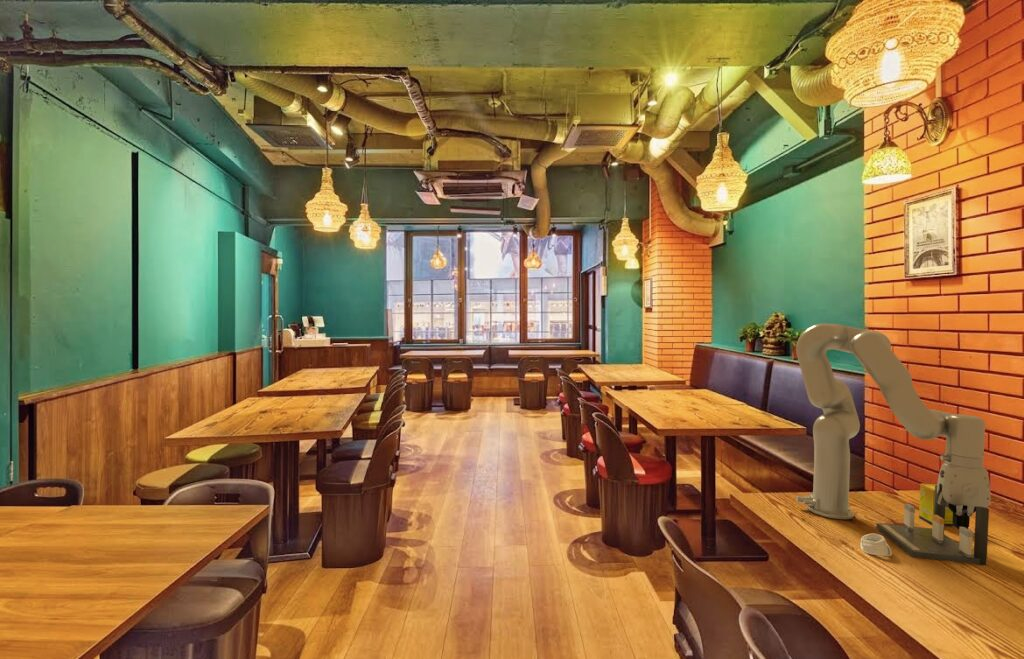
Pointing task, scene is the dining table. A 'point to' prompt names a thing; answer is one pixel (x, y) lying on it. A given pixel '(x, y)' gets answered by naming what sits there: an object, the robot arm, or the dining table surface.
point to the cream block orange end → (937, 527)
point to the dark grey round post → (980, 528)
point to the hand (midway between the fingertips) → (960, 528)
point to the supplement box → (931, 505)
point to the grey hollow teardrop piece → (875, 545)
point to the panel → (925, 544)
